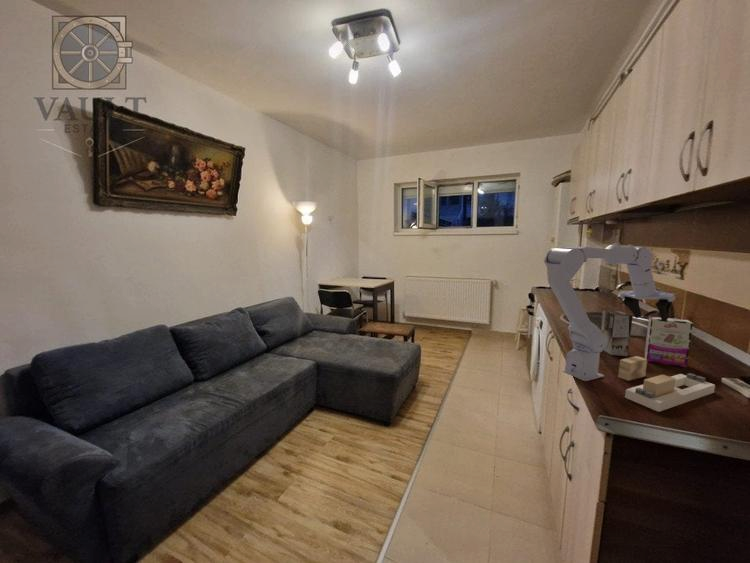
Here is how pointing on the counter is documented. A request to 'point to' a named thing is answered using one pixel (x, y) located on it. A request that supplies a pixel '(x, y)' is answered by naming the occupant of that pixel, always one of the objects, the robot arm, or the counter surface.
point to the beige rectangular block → (632, 368)
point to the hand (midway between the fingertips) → (651, 318)
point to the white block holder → (669, 391)
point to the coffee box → (617, 331)
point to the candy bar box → (668, 341)
